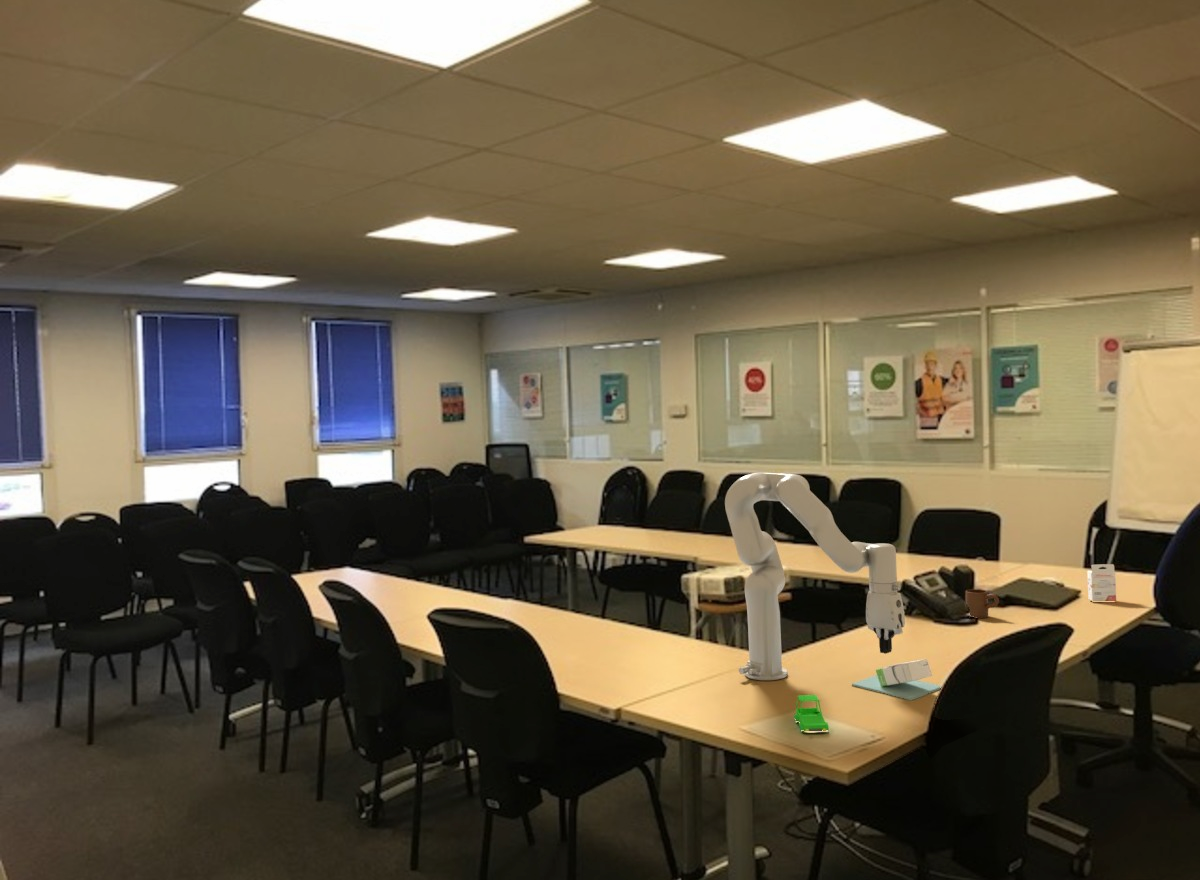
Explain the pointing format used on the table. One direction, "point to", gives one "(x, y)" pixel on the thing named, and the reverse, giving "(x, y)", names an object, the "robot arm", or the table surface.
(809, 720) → the toy car
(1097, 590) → the ink cartridge box
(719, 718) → the table surface
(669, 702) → the table surface
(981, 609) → the mug
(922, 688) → the mat
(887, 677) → the white cardboard box
